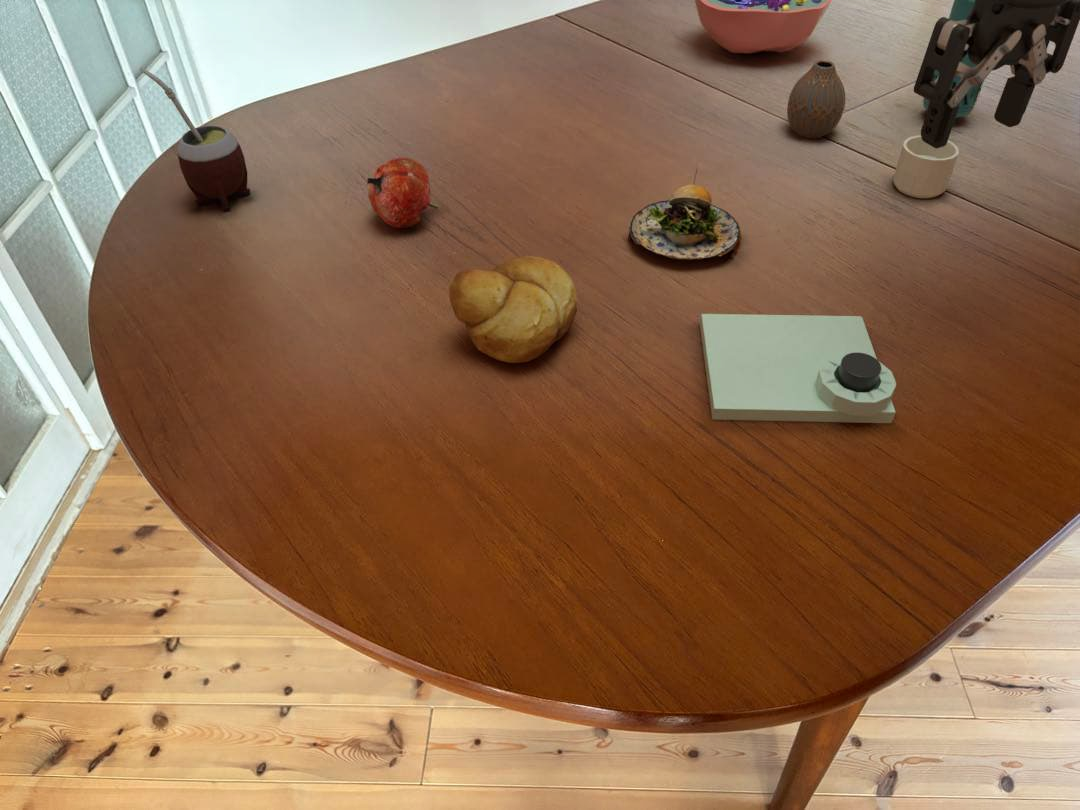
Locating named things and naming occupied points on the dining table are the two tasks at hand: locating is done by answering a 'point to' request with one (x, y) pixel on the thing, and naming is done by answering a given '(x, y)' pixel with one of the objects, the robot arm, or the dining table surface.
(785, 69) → the dining table surface
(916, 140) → the cup
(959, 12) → the beverage bottle
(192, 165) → the mate gourd
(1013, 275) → the dining table surface
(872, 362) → the button
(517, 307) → the bread roll
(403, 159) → the pomegranate
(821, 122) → the vase
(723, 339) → the scale
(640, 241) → the burger
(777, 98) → the dining table surface
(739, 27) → the cell model
